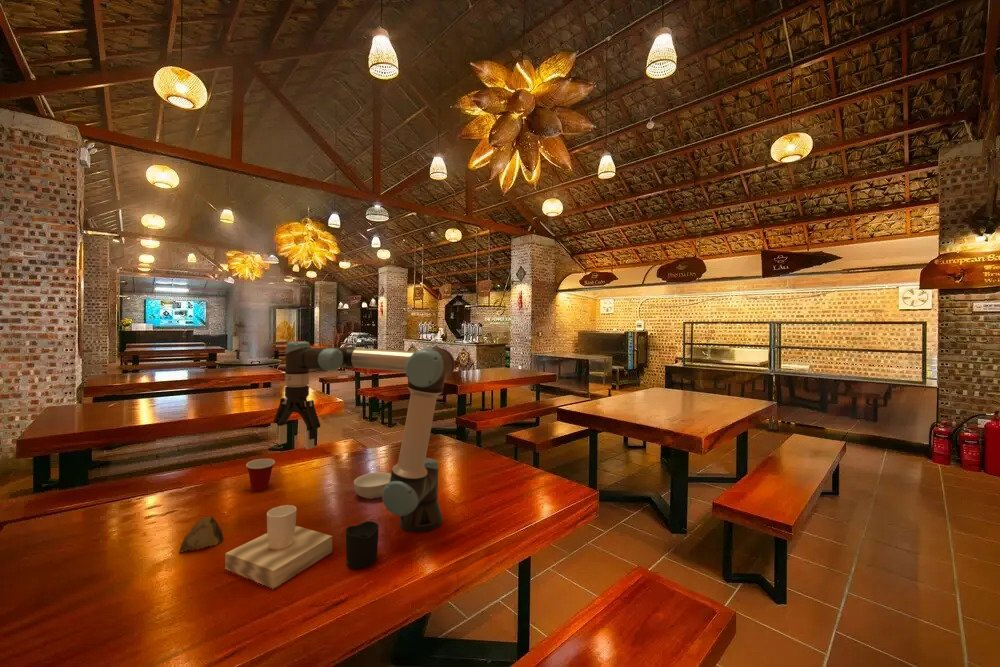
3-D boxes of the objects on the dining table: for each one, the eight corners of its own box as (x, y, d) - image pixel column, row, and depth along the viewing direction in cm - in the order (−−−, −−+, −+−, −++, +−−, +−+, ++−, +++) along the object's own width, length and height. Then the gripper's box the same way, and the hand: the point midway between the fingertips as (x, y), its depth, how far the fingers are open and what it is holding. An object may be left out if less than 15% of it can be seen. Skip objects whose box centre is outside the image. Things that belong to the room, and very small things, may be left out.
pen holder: (352, 552, 124) (353, 520, 124) (382, 553, 123) (382, 521, 123) (339, 570, 114) (340, 535, 114) (371, 571, 114) (372, 536, 114)
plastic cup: (251, 497, 163) (252, 468, 163) (241, 490, 170) (241, 462, 170) (278, 489, 172) (279, 461, 172) (268, 483, 178) (268, 456, 178)
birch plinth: (332, 552, 124) (332, 536, 124) (273, 589, 105) (273, 570, 105) (287, 538, 131) (287, 523, 131) (225, 570, 113) (225, 553, 113)
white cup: (301, 537, 122) (301, 505, 122) (286, 551, 114) (287, 517, 114) (276, 536, 123) (277, 504, 123) (260, 550, 115) (260, 516, 115)
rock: (168, 551, 119) (203, 545, 119) (177, 520, 124) (211, 515, 125) (190, 556, 127) (223, 551, 128) (199, 527, 132) (230, 522, 133)
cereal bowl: (378, 484, 179) (379, 469, 179) (403, 493, 169) (403, 477, 169) (345, 496, 165) (345, 479, 165) (369, 507, 156) (369, 489, 156)
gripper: (263, 384, 140) (261, 444, 140) (314, 389, 130) (312, 453, 130) (282, 382, 147) (281, 439, 147) (332, 386, 137) (330, 447, 137)
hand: (296, 445), depth 139 cm, fingers open, 13 cm apart
